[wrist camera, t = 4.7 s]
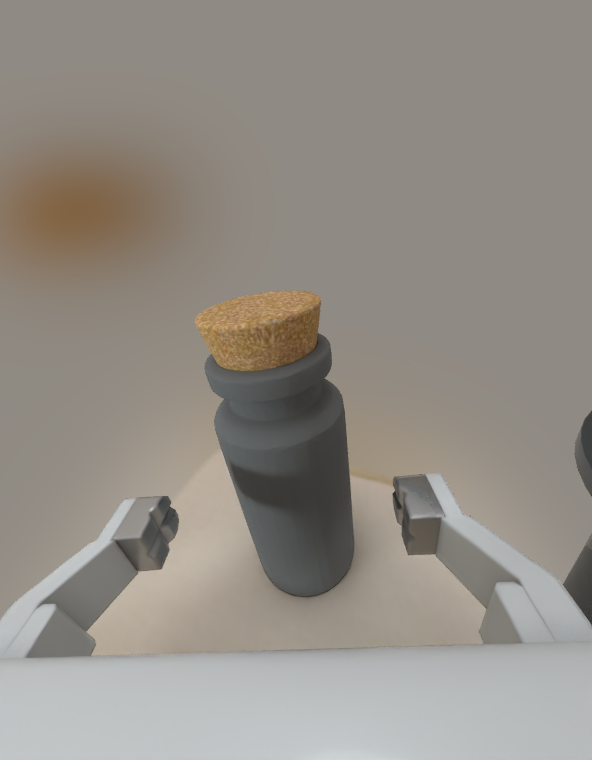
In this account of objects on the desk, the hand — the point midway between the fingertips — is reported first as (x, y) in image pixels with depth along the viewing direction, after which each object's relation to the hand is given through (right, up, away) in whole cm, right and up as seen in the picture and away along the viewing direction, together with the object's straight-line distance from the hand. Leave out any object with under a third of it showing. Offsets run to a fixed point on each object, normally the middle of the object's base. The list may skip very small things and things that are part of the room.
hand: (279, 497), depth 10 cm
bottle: (+1, -6, +8) cm, 10 cm away
